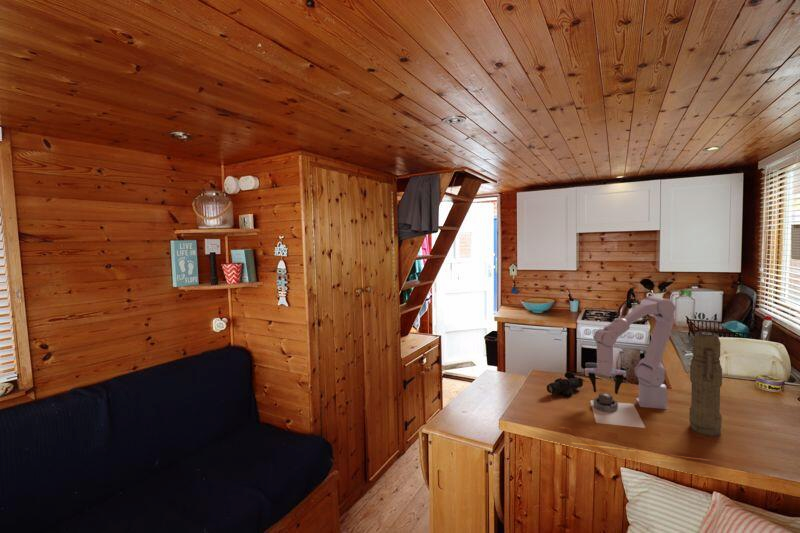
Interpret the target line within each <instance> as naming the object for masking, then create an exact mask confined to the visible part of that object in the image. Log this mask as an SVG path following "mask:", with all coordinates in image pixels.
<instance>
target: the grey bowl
mask: <svg viewBox="0 0 800 533" xmlns="http://www.w3.org/2000/svg"><path fill="white" fill-rule="evenodd" d="M592 400H593V404H594V408H595V409H597V410H599V411H602V412H609V413H611V412H616V411H617V409H618V403H619V402H618V401H617V400H615V399H614V398H613V405H603V404H600V403H599V396H597V397H594V398H593V399H592Z"/></svg>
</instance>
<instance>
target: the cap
mask: <svg viewBox="0 0 800 533" xmlns="http://www.w3.org/2000/svg"><path fill="white" fill-rule="evenodd" d="M598 397H599V403H600V404H603V405H613V399H614V398H613V395H612V394H610V393H606V392H600V393H598Z"/></svg>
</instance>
